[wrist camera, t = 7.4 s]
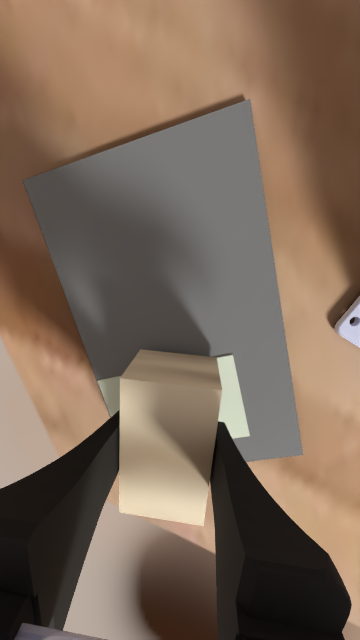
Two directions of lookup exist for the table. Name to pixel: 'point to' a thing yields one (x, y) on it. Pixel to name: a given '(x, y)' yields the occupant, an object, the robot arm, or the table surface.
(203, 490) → the beige wooden block
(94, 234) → the mat
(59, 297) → the table surface
